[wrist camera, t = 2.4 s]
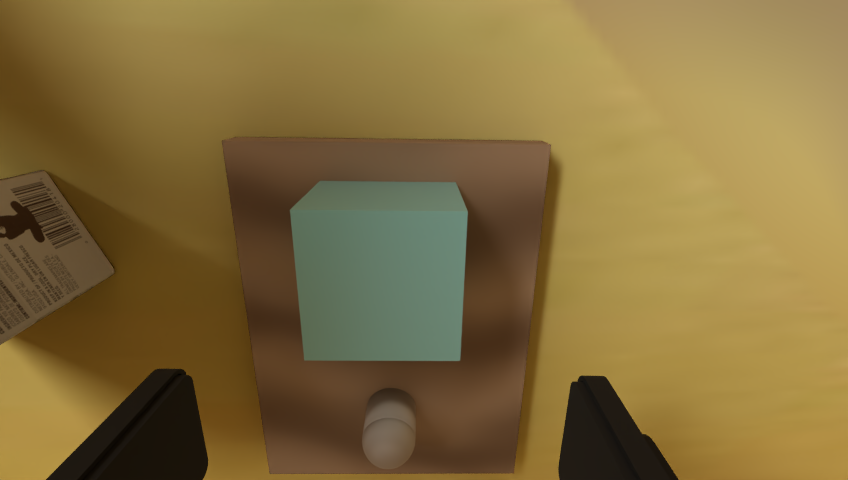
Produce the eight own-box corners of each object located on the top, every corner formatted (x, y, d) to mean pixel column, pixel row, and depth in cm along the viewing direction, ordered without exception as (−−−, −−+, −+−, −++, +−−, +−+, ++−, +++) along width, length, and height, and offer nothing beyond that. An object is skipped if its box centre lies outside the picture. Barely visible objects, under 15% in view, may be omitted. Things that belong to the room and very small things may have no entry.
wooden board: (235, 137, 21) (178, 152, 16) (541, 140, 21) (579, 157, 16) (277, 454, 27) (246, 533, 23) (508, 453, 28) (528, 532, 23)
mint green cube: (319, 180, 20) (289, 209, 15) (455, 182, 20) (467, 211, 15) (328, 302, 22) (304, 360, 17) (451, 303, 22) (460, 360, 18)
